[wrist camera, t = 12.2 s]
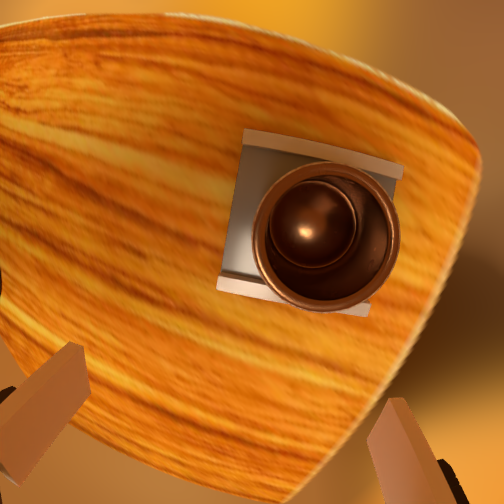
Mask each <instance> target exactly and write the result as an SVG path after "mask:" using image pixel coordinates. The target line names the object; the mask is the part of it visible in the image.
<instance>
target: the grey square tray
mask: <svg viewBox="0 0 504 504" xmlns="http://www.w3.org/2000/svg"><path fill="white" fill-rule="evenodd" d="M241 143H242V145H243V148H242V153H241V158H240V163H239V169H238V174H237V180H236V185H235V191H234V196H233V202H232V208H231V213H230V219H229V225H228V231H227V237H226V243H225V249H224V255H223V261H222V267H221V272H220V274H219V275H218V281H217V287H216V290H220V291H225V292H229V293H234V294H239V295H244V296H249V297H254V298H259V299H264V300H270V301H275V302H280V303H286V302H285V301H283V300H282V299H280V298H279V297H278V296H277V295H276V294H274V293H273V292H272V291H271V289H270V288H269V287H268V286H267V285H266V283H265V282H264V280H263V279H262V277H261V275H260V274H259V272H258V269H257V267H256V264H255V261H254V258H253V253H252V246H251V231H252V224H253V220H254V216H255V213H256V211H257V208H258V206H259V204H260V202H261V200H262V198H263V197H264V195H265V194H266V192H267V191H268V190H269V189H270V187H271V186H272V185H273V184H274V183H275V182H276V181H277V180H279V179H280V178H281V177H282V176H284V175H285V174H287V173H288V172H290V171H292V170H294V169H296V168H298V167H300V166H303V165H306V164H310V163H315V162H325V161H329V162H340V163H345V164H348V165H351V166H354V167H357V168H359V169H361V170H363V171H364V172H366V173H367V174H369V175H370V176H372V177H373V178H374V179H375V180H376V181H377V182H378V183H380V185H381V186H382V187H383V188H384V189H385V191H386V192H387V193H388V195H389V196H390V198H391V200H392V201H393V196H394V190H395V185H396V180H402V175H403V169H404V166H403V165H400V164H397V163H394V162H390V161H387V160H384V159H381V158H377V157H374V156H370V155H367V154H363V153H360V152H356V151H352V150H348V149H344V148H341V147H337V146H332V145H328V144H324V143H320V142H315V141H311V140H306V139H302V138H297V137H292V136H287V135H281V134H276V133H271V132H265V131H259V130H253V129H246V128H244V132H243V137H242V142H241ZM286 304H288V303H286ZM370 307H371V303H370V302H369V301H368V299H367V300H366V301H364V302H362V303H361V304H359V305H357V306H355V307H352V308H350V309H347V310H344V311H339V312H338V313H344V314H350V315H356V316H363V317H367V316H368V313H369V310H370Z"/></svg>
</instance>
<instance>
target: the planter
mask: <svg viewBox="0 0 504 504" xmlns="http://www.w3.org/2000/svg"><path fill="white" fill-rule="evenodd" d="M251 246H252V253H253V258H254V261H255V264H256V267H257V269H258V272H259V274H260V275H261V277H262V279H263V280H264V282H265V283H266V285H267V286H268V287H269V288H270V289H271V291H272V292H273V293H274V294H276V295H277V296H278V297H279V298H280V299H282V300H283V301H285V302H286V303H288V304H290V305H292V306H294V307H296V308H299V309H301V310H305V311H309V312H315V313H334V312H339V311H344V310H347V309H350V308H352V307H355V306H357V305H359V304H361V303H362V302H364V301H366V300H367V299H368V298H370V297H371V296H372V295H373V294H375V293H376V292H377V291H378V290H379V289H380V288H381V286H382V285H383V284H384V283H385V281H386V280H387V279H388V277H389V275H390V274H391V272H392V270H393V268H394V265H395V263H396V260H397V257H398V253H399V247H400V224H399V219H398V215H397V212H396V209H395V206H394V204H393V202H392V200H391V198H390V196H389V195H388V193H387V192H386V191H385V189H384V188H383V187H382V186H381V185H380V183H378V182H377V181H376V180H375V179H374V178H373V177H372V176H370V175H369V174H367V173H366V172H364V171H363V170H361V169H359V168H357V167H354V166H351V165H348V164H345V163H340V162H329V161H325V162H315V163H310V164H306V165H303V166H300V167H298V168H296V169H294V170H292V171H290V172H288V173H287V174H285V175H284V176H282V177H281V178H280V179H279V180H277V181H276V182H275V183H274V184H273V185H272V186H271V187H270V189H269V190H268V191H267V192H266V194H265V195H264V197H263V198H262V200H261V202H260V204H259V206H258V208H257V211H256V213H255V216H254V220H253V224H252V231H251Z"/></svg>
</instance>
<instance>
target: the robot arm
mask: <svg viewBox="0 0 504 504" xmlns="http://www.w3.org/2000/svg"><path fill="white" fill-rule="evenodd" d="M0 294H1V275H0ZM90 394H91V390H90V385H89V380H88V374H87V368H86V362H85V355H84V348H83V346H81V345H78V344H75V343H73V342H68V343H67V344H66V345H65V346H64V347H63V348H62V349H60V350H59V351H58V352H57V353H56V354H55V355H53V356H52V357H51V358H50V359H49V360H48V361H47V362H46V363H44V364H43V365H42V366H41V367H40V368H39V369H38V370H37V371H35V372H34V373H33V374H32V375H31V376H30V377H29V378H28V379H27V380H26V381H24V382H23V383H22V384H21V385H20V386H19V387H18V388H15V387H13V386H11V387H8V388H6V389H4V390H2V391H0V471H1V472H2V473H3V475H4V476H5V477H6V478H7V479H8V480H10V481H11V482H13V483H14V484H15V485H17V486H18V487H21V485H22V484H23V482H24V481H25V480H26V478H27V477H28V475H29V474H30V473H31V471H32V470H33V468H34V467H35V466H36V464H37V463H38V462H39V460H40V459H41V457H42V456H43V455H44V453H45V452H46V451H47V450H48V448H49V447H50V446H51V444H52V443H53V442H54V440H55V439H56V438H57V436H58V435H59V433H60V432H61V431H62V430H63V428H64V427H65V426H66V424H67V423H68V422H69V421H70V419H71V418H72V417H73V416H74V414H75V413H76V412H77V410H78V409H79V408H80V407H81V405H82V404H83V403H84V401H85V400H86V399H87V398H88V396H89V395H90ZM366 441H367V444H368V447H369V450H370V454H371V457H372V459H373V463H374V466H375V470H376V473H377V476H378V479H379V483H380V486H381V490H382V493H383V496H384V500H385V504H469V501H468V500H467V497H466V495H465V494H464V491H463V489H462V487H461V485H459V481H458V479H457V478H456V475H455V473H454V471H453V469H452V467H451V466H450V465H449V464H448V463H447V462H446V461H445V460H444V459H440V460H436V458H435V456H434V454H433V452H432V450H431V448H430V446H429V444H428V442H427V440H426V438H425V437H424V435H423V433H422V431H421V429H420V427H419V425H418V423H417V421H416V420H415V418H414V416H413V414H412V412H411V410H410V408H409V407H408V405H407V403H406V401H405V399H404V398H389V399H388V401H387V403H386V405H385V407H384V409H383V411H382V413H381V415H380V416H379V419H378V420H377V422H376V424H375V426H374V427H373V430H372V431H371V433H370V434H369V436H368V438H367V440H366ZM0 504H2V499H1V493H0Z"/></svg>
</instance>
